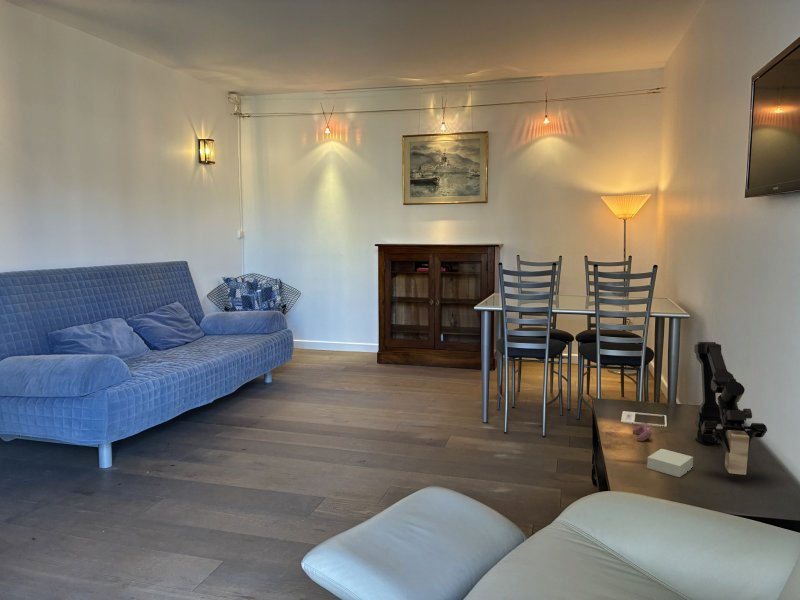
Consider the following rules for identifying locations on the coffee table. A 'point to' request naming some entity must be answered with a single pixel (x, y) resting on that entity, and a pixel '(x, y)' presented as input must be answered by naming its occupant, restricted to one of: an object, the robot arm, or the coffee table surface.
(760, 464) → the coffee table surface
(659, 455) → the white flat block
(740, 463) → the birch block
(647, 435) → the pink lumpy piece
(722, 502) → the coffee table surface
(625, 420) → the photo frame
